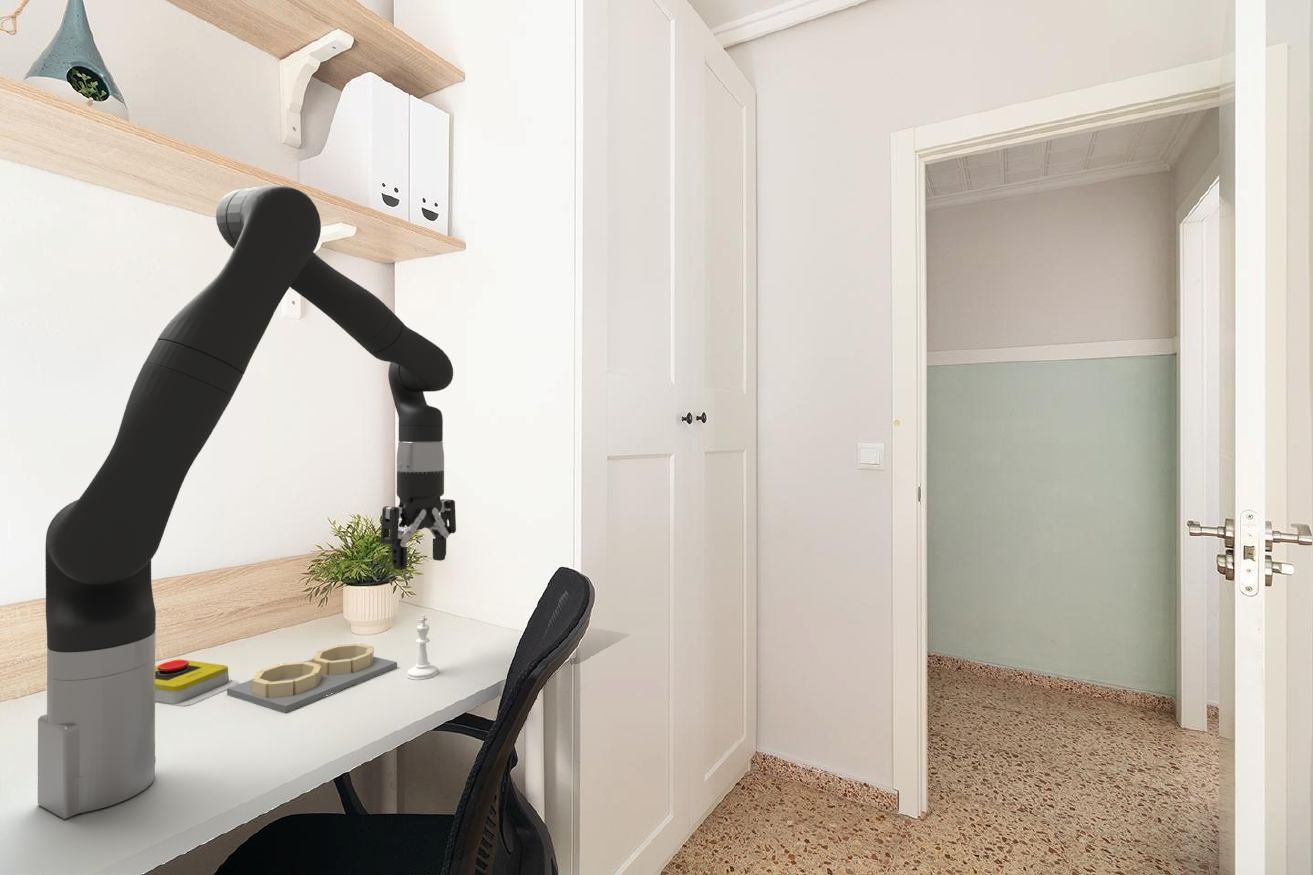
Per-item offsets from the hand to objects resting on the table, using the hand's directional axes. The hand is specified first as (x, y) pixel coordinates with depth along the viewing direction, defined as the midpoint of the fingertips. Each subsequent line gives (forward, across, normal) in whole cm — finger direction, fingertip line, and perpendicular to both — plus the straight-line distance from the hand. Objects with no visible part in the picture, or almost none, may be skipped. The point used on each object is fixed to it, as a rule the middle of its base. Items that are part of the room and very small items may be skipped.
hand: (420, 564), depth 108 cm
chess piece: (+19, 0, -1) cm, 19 cm away
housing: (+18, -10, +12) cm, 24 cm away
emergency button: (+19, -22, +28) cm, 41 cm away
